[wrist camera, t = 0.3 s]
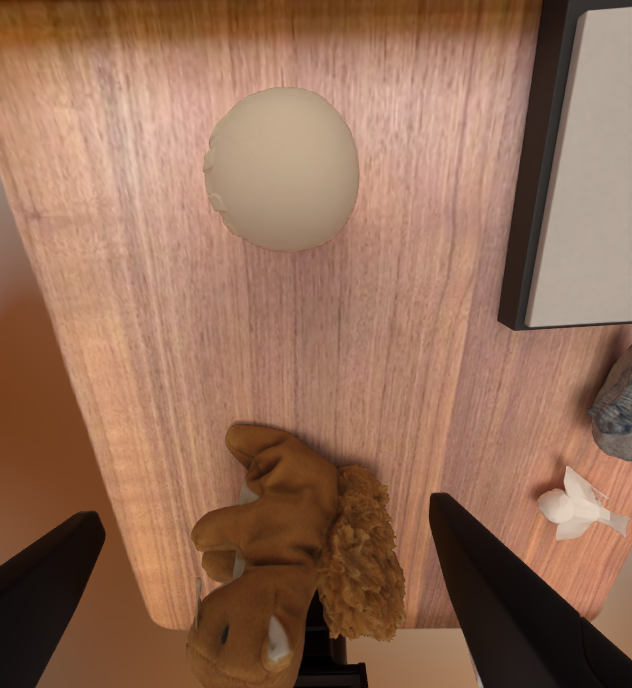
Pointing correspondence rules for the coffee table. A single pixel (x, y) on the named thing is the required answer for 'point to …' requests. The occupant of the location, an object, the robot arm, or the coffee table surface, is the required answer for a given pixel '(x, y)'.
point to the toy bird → (577, 508)
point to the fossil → (615, 410)
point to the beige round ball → (283, 170)
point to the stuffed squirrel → (290, 563)
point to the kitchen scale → (575, 175)
